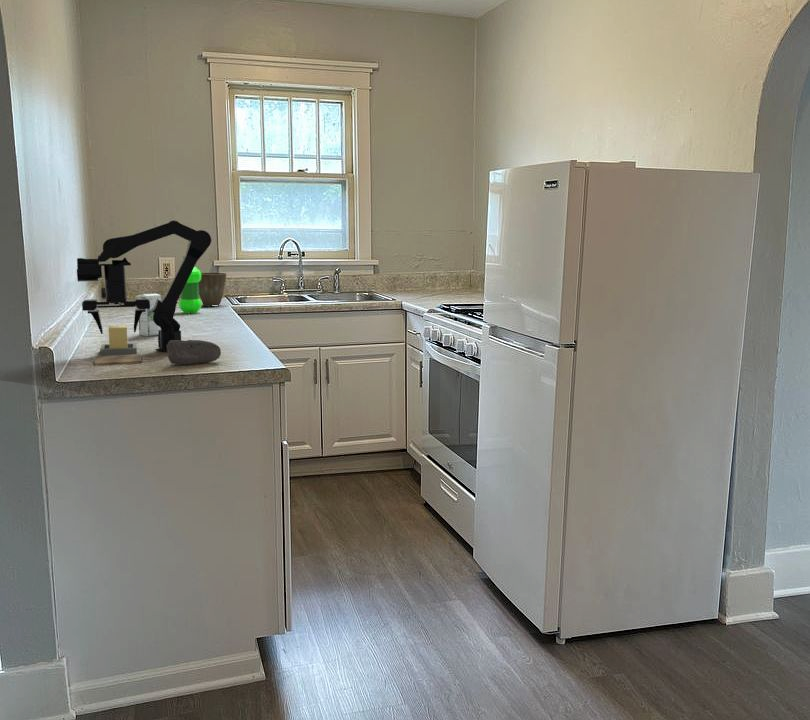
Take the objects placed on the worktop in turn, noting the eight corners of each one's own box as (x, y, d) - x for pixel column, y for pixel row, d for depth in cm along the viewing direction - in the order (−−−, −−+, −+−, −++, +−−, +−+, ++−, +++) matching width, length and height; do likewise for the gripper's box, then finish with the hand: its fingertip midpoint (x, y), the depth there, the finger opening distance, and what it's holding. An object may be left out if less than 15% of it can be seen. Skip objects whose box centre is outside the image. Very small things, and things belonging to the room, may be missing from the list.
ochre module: (128, 351, 226) (126, 325, 224) (127, 353, 221) (126, 327, 220) (110, 352, 224) (109, 326, 223) (109, 354, 220) (108, 328, 218)
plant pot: (197, 304, 366) (196, 272, 364) (228, 304, 369) (227, 272, 366) (194, 307, 352) (193, 274, 349) (226, 307, 355) (225, 274, 352)
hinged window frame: (136, 344, 239) (136, 338, 238) (136, 354, 220) (136, 348, 219) (103, 345, 235) (102, 339, 235) (100, 356, 216) (100, 349, 216)
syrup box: (153, 333, 265) (151, 293, 262) (162, 335, 261) (161, 294, 258) (139, 335, 260) (136, 294, 258) (148, 336, 257) (146, 295, 254)
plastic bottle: (198, 311, 338) (196, 256, 333) (205, 313, 329) (203, 257, 325) (176, 312, 332) (173, 256, 328) (182, 314, 324) (180, 257, 319)
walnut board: (140, 356, 217) (140, 354, 217) (140, 363, 206) (140, 360, 206) (96, 358, 213) (96, 356, 213) (94, 365, 202) (94, 363, 202)
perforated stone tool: (219, 360, 212) (218, 336, 210) (223, 363, 207) (222, 339, 206) (165, 364, 206) (164, 339, 204) (167, 367, 201) (166, 342, 200)
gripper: (147, 278, 230) (150, 328, 232) (82, 279, 223) (86, 330, 226) (148, 281, 219) (151, 333, 222) (80, 282, 213) (84, 335, 216)
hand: (118, 333), depth 222 cm, fingers open, 9 cm apart
